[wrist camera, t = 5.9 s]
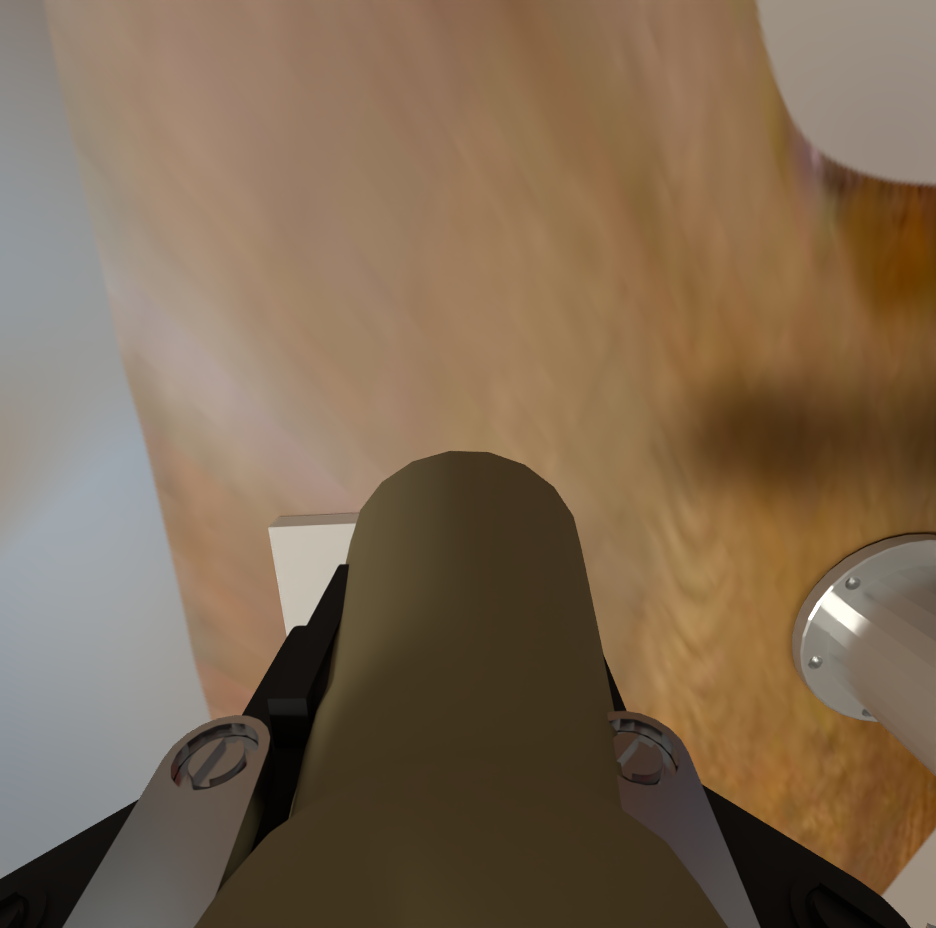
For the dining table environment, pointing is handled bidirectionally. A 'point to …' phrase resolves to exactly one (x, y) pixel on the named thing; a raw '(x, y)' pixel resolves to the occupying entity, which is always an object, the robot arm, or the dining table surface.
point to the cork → (463, 733)
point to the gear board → (308, 559)
